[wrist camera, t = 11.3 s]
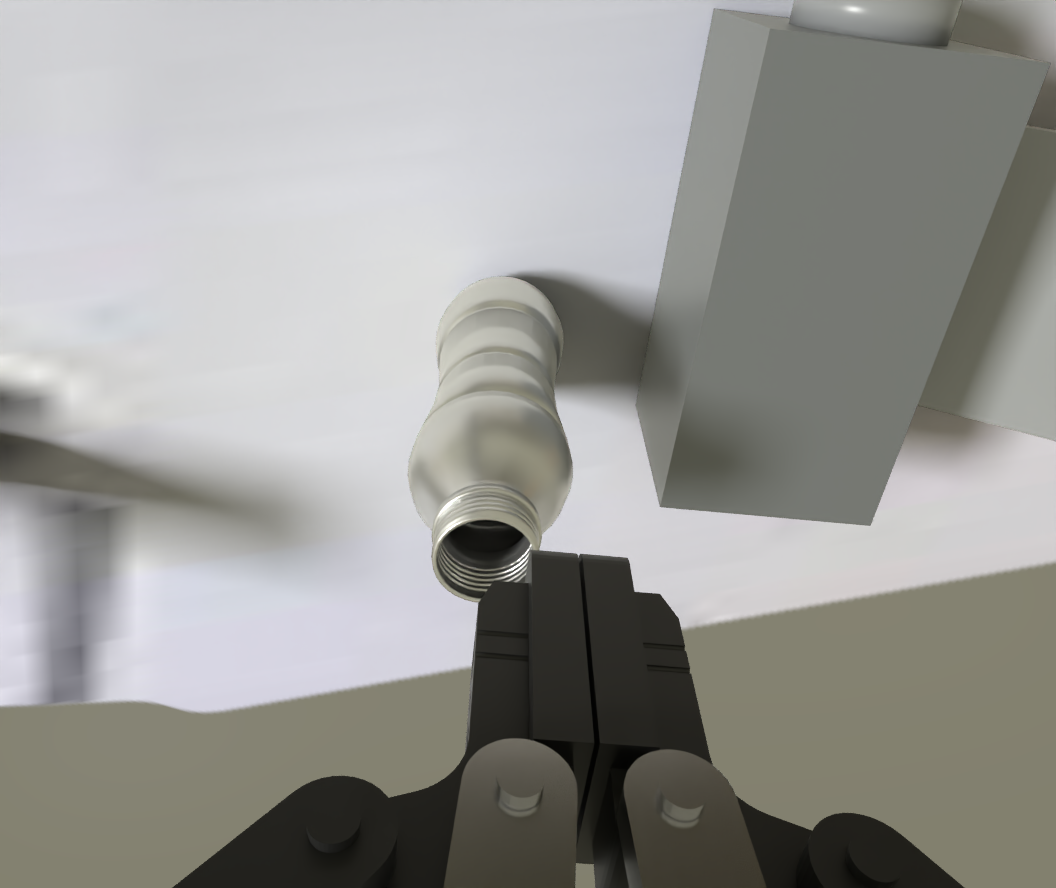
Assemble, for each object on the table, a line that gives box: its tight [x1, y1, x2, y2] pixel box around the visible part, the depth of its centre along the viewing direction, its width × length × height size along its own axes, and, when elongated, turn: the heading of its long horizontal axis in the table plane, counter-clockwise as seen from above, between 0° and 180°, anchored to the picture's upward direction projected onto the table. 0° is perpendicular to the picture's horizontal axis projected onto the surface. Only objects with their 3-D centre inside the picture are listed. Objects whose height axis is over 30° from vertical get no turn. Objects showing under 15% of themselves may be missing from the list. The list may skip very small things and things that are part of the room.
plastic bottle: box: [408, 276, 573, 602], centre depth 37 cm, size 6×7×20 cm
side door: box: [918, 125, 1056, 441], centre depth 41 cm, size 14×1×13 cm
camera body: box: [636, 0, 1051, 526], centre depth 38 cm, size 22×10×10 cm, turn 174°
